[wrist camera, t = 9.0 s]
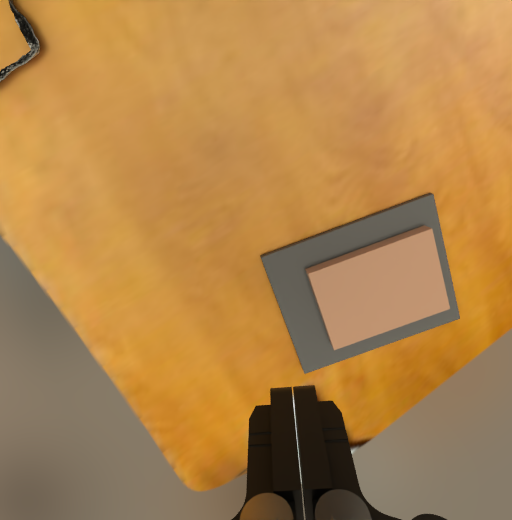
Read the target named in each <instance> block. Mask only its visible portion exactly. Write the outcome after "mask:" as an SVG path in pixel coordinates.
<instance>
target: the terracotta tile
mask: <svg viewBox="0 0 512 520" xmlns="http://www.w3.org/2000/svg"><path fill="white" fill-rule="evenodd" d="M305 270H306V273H307V276H308V279H309V282H310V285H311V288H312V291H313V294H314V297H315V300H316V302H317V305H318V308H319V311H320V314H321V317H322V320H323V323H324V326H325V329H326V332H327V335H328V337H329V340H330V343H331V345H332V347H333V349H334V350H337V349H339V348H342V347H345V346H348V345H351V344H353V343H356V342H359V341H362V340H364V339H367V338H370V337H373V336H376V335H378V334H381V333H384V332H387V331H390V330H392V329H395V328H398V327H401V326H404V325H406V324H409V323H412V322H415V321H418V320H420V319H423V318H426V317H429V316H432V315H434V314H437V313H440V312H443V311H445V310H448V309H450V306H449V302H448V297H447V293H446V288H445V284H444V279H443V275H442V270H441V266H440V261H439V257H438V252H437V248H436V243H435V239H434V234H433V230H432V228H430V227H427V226H425V225H424V226H421V227H418V228H415V229H413V230H410V231H407V232H405V233H402V234H399V235H396V236H394V237H391V238H388V239H386V240H383V241H380V242H377V243H375V244H372V245H369V246H366V247H364V248H361V249H358V250H356V251H353V252H350V253H347V254H345V255H342V256H339V257H337V258H334V259H331V260H328V261H326V262H323V263H320V264H317V265H315V266H312V267H309V268H307V269H305Z"/></svg>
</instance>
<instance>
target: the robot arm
mask: <svg viewBox="0 0 512 520" xmlns="http://www.w3.org/2000/svg"><path fill="white" fill-rule="evenodd" d="M293 390H294V403H295V415H296V427H297V438H298V448H299V458H300V467H301V477H302V487H303V497H304V507H305V516H306V520H401V519H398V518H394V517H391V516H388V515H385V514H383V513H381V512H379V511H378V510H376V509H375V508H374V507H372V506H371V505H370V504H369V503H368V502H367V501H366V499H365V498H364V496H363V494H362V492H361V490H360V487H359V483H358V479H357V475H356V470H355V467H354V463H353V458H352V454H351V450H350V446H349V442H348V437H347V433H346V430H345V425H344V421H343V417H342V413H341V411H340V410H339V409H338V408H337V406H336V405H335V404H334V402H333V401H320V402H317V396H316V390H315V386H314V385H312V386H297V387H293ZM270 396H271V405H261V406H256V407H255V409H254V411H253V413H252V414H251V416H250V418H249V440H248V466H247V493H246V499H245V502H244V505H243V507H242V509H241V510H240V512H239V513H238V514H237V515H236V516H235V517H234V518H233V519H232V520H304V516H303V503H302V492H301V480H300V470H299V460H298V449H297V439H296V429H295V419H294V408H293V398H292V388H291V387H284V388H271V389H270ZM412 520H447V519H445V518H443V517H440V516H437V515H434V514H421V515H418V516H416V517H415V518H413V519H412Z"/></svg>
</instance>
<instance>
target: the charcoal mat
mask: <svg viewBox="0 0 512 520" xmlns="http://www.w3.org/2000/svg"><path fill="white" fill-rule="evenodd" d="M424 225H425V226H427V227H430V228H432V230H433V234H434V239H435V243H436V248H437V252H438V257H439V261H440V266H441V270H442V275H443V279H444V284H445V288H446V293H447V297H448V302H449V306H450V309H448V310H445V311H443V312H440V313H437V314H434V315H432V316H429V317H426V318H423V319H420V320H418V321H415V322H412V323H409V324H406V325H404V326H401V327H398V328H395V329H392V330H390V331H387V332H384V333H381V334H378V335H376V336H373V337H370V338H367V339H364V340H362V341H359V342H356V343H353V344H351V345H348V346H345V347H342V348H339V349H337V350H334V349H333V347H332V345H331V343H330V340H329V337H328V335H327V332H326V329H325V326H324V323H323V320H322V317H321V314H320V311H319V308H318V305H317V302H316V300H315V297H314V294H313V291H312V288H311V285H310V282H309V279H308V276H307V273H306V270H305V269H307V268H309V267H312V266H315V265H317V264H320V263H323V262H326V261H328V260H331V259H334V258H337V257H339V256H342V255H345V254H347V253H350V252H353V251H356V250H358V249H361V248H364V247H366V246H369V245H372V244H375V243H377V242H380V241H383V240H386V239H388V238H391V237H394V236H396V235H399V234H402V233H405V232H407V231H410V230H413V229H415V228H418V227H421V226H424ZM261 259H262V262H263V265H264V267H265V270H266V273H267V275H268V278H269V280H270V283H271V286H272V288H273V291H274V294H275V296H276V299H277V302H278V304H279V307H280V310H281V312H282V315H283V317H284V320H285V323H286V325H287V328H288V331H289V333H290V336H291V339H292V341H293V344H294V347H295V349H296V352H297V355H298V357H299V360H300V362H301V365H302V368H303V370H304V373H305V374H306V373H308V372H311V371H314V370H317V369H320V368H322V367H325V366H328V365H331V364H334V363H336V362H339V361H342V360H345V359H348V358H350V357H353V356H356V355H359V354H362V353H365V352H367V351H370V350H373V349H376V348H379V347H381V346H384V345H387V344H390V343H393V342H395V341H398V340H401V339H404V338H407V337H409V336H412V335H415V334H418V333H421V332H423V331H426V330H429V329H432V328H435V327H437V326H440V325H443V324H446V323H449V322H451V321H454V320H457V319H460V316H459V311H458V306H457V302H456V297H455V292H454V288H453V283H452V279H451V274H450V269H449V265H448V260H447V255H446V251H445V246H444V241H443V237H442V232H441V228H440V223H439V218H438V214H437V209H436V204H435V200H434V195H433V194H431V193H428V194H426V195H423V196H420V197H418V198H415V199H412V200H409V201H407V202H404V203H401V204H399V205H396V206H393V207H391V208H388V209H385V210H382V211H380V212H377V213H374V214H372V215H369V216H366V217H364V218H361V219H358V220H355V221H353V222H350V223H347V224H345V225H342V226H339V227H337V228H334V229H331V230H328V231H326V232H323V233H320V234H318V235H315V236H312V237H310V238H307V239H304V240H301V241H299V242H296V243H293V244H291V245H288V246H285V247H283V248H280V249H277V250H274V251H272V252H269V253H266V254H264V255H261Z"/></svg>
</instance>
